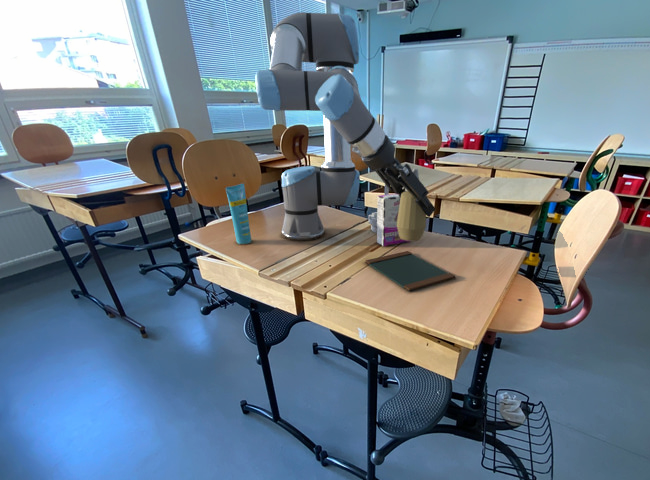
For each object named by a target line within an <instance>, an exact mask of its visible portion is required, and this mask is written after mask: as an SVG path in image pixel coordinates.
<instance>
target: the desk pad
mask: <svg viewBox="0 0 650 480" xmlns="http://www.w3.org/2000/svg"><path fill="white" fill-rule="evenodd" d="M364 264H366V265H368V267H370V268H372V269H374V270H375V271H377V272H378V273H380V274H381V275H382V276H384V277H386V278H387V279H389V280H390V281H392V282H393V283H395V284H396V285H398V286H399V287H401V288H402V289H403V290H405V291H407V292H408V293H411V292H414V291H418V290H421V289H425V288H429V287H431V286H435V285H439V284H443V283H446V282H448V281H451V280H455V279H456V275H455V274H453V273H451V272H448V271H446V270H443V269H441V268H440V267H438V266H436V265H434V264H432V263H430V262H428V261H426V260H425V259H423V258H420V257H418V256H416V255H414V254H413V253H412V252H411V251H409V250H405V251H400V252H395V253H391V254H387V255H383V256H378V257H375V258H369V259H365V260H364Z"/></svg>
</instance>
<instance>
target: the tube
mask: <svg viewBox="0 0 650 480" xmlns="http://www.w3.org/2000/svg"><path fill="white" fill-rule="evenodd" d="M225 193H226V196H227V201H228V205H229V209H230V214H231V219H232V224H233V230H234V235H235V240H236V243H237V244H238V245H247V244H250V243H252V235H251V229H250V221H249V213H248V205H247V198H246V197H247V196H246V188H245V183H244V182H243V183H240V184H236V185H232V186H231V185H230V186H226V187H225Z"/></svg>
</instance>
